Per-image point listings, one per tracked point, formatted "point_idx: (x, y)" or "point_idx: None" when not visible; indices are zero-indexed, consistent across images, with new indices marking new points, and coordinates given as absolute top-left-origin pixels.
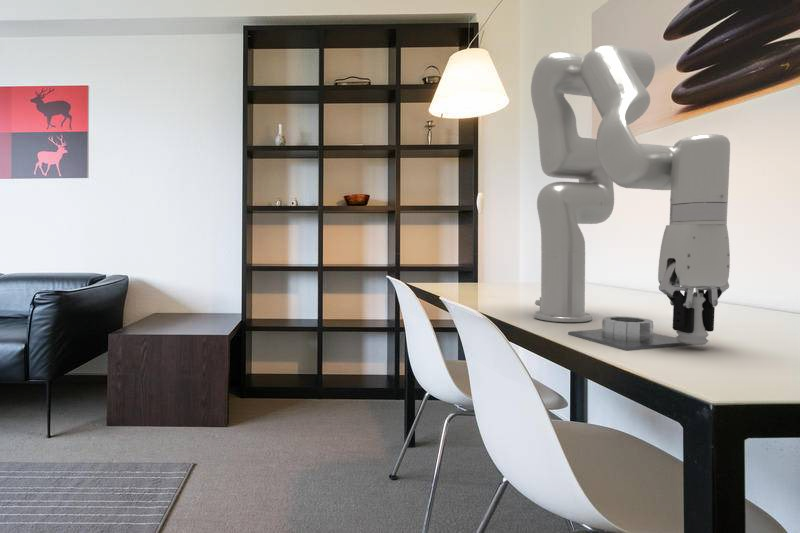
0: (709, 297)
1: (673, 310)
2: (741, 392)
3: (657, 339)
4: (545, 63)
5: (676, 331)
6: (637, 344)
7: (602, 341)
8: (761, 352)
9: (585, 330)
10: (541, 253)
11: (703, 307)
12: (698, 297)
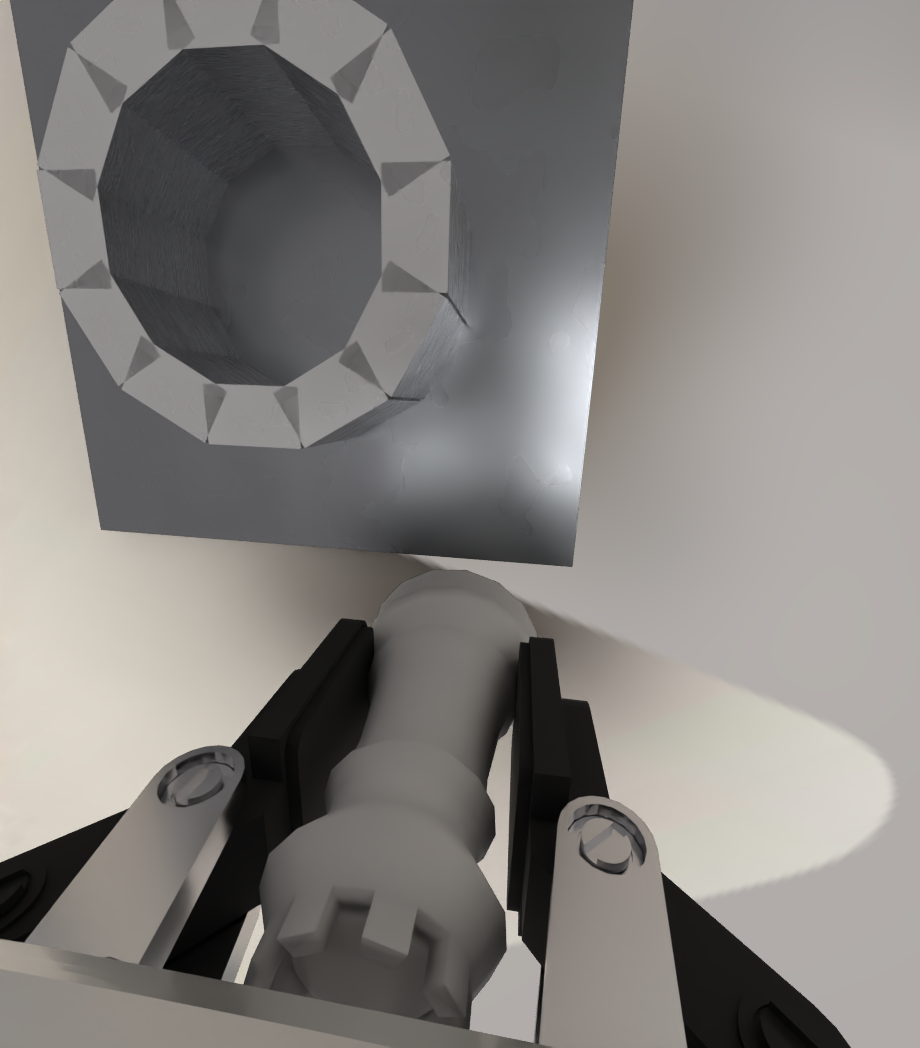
0: (538, 1032)
1: (275, 701)
2: None
3: (417, 441)
4: None
5: (393, 603)
6: (198, 501)
7: (72, 349)
8: (701, 800)
9: None
10: None
11: (514, 855)
12: None
